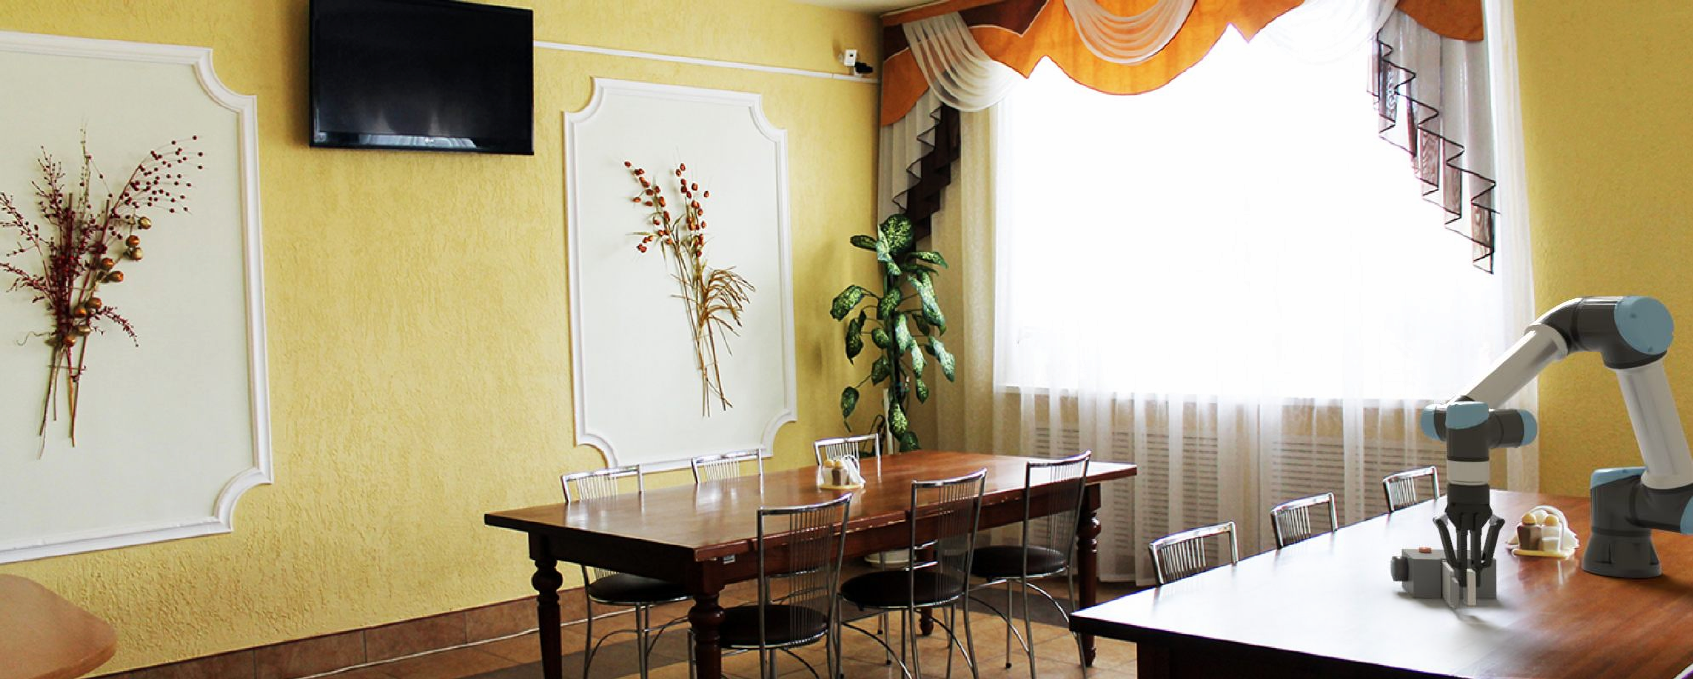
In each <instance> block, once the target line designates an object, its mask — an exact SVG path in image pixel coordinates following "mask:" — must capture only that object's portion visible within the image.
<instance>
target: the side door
mask: <svg viewBox="0 0 1693 679" xmlns="http://www.w3.org/2000/svg"><path fill="white" fill-rule="evenodd" d="M1442 598H1443V599H1444V600H1445V602H1446V604H1447V605H1448V606H1449V607H1450V608H1454V610H1455V609H1456V610H1459V609H1460V598H1459V582H1458V581H1457V580H1456V578H1455V577H1454V570H1453V569H1452V568H1451V567H1450V565H1449V564H1448V563H1447V560H1442V597H1441V599H1442Z"/></svg>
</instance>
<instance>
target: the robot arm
mask: <svg viewBox="0 0 1693 679" xmlns="http://www.w3.org/2000/svg"><path fill="white" fill-rule="evenodd" d="M1673 319H1674V318H1673V316H1672V314H1671V312H1670V311H1669V309H1668V308H1667V306H1666V305H1665V304H1663V303H1662V301H1660V300H1659V299H1655V298H1654V297H1651V296H1641V295H1635V294H1630V295H1623V296H1621V295H1619V296H1618V295H1615V296H1614V295H1611V296H1610V295H1609V296H1590V295H1589V296H1580V297H1576V298H1572V299H1570V300H1567V301H1565V302H1563V303H1560V304H1558V305H1557V306H1554V307H1553V308H1552V309H1550V310H1548V311H1547V312H1544V313H1543V314H1542V315H1541V316H1540V317H1538V318H1537V319H1535V320H1534V321H1533V322H1531V324H1529V325H1528V326H1527V327H1526V328H1525V329H1524V333H1523V337H1522V338H1520V339H1519V341H1517V342H1515V344H1514V345H1512V346H1511V347H1510V348H1509V349H1507V351H1505V352H1504V353H1503V354H1502V355H1501V356H1500V357H1499V358H1497V359H1496V360H1495V361H1493V363H1491V364H1490V365H1489V366H1488V367H1487V368H1485V369H1484V370H1483V371H1482V372H1481V373H1480V374H1479V375H1477V376H1476V377H1475V378H1474V379H1473V380H1472V381H1471V382H1469V383H1468V384H1467V385H1466V386H1465V387H1464V388H1462V389H1461V390H1460V391H1459V392H1457V394H1455V395H1454V396H1453V397H1452V398H1451V399H1449V400H1448V401H1447V402H1446V403H1444V404H1443V403H1437V404H1429V405H1428V406H1426V407H1425V408H1424V409H1423V410H1422V412H1421V414H1420V417H1419V418H1420V419H1419V425H1420V430H1421V432H1422V433H1423V435H1424V436H1425V437H1426V438H1427V439H1430V440H1433V441H1439V442H1441V443H1442V442H1443V443H1446V479H1447V480H1448V482H1447V483H1446V502H1447V503H1446V506H1445V508H1444V512H1443V513H1441V515H1439V516H1438V517H1437V516H1434V517H1432V522H1433V524H1434V525H1435V527H1436V528H1437V529H1438V534H1439V538H1440V541H1441V544H1442V550H1444V552H1445V556H1446V560H1447V563H1448V564H1449V565H1450V566H1452V567H1454V568H1457V569H1458V582H1459V586H1461V587H1463V598H1462V600H1463V603H1464V604H1466V605H1467V606H1476V605H1477V601H1476V600H1477V598H1476V587H1480V585H1481V571H1482V570H1483V569H1484V568H1489V567H1490V566H1491V564H1492V560H1493V558H1494V555H1495V550H1496V547H1497V543H1498V539H1499V535H1500V531H1501V530H1502V528H1503V527H1504V525H1505V524H1506V519H1504V518H1502V517H1500V516H1497V515H1496V514H1494V512H1493V509H1492V508H1491V504H1490V503H1491V491H1490V490H1491V485H1490V484H1489V483H1487V482H1489V481H1490V480H1491V476H1490V474H1491V473H1490V472H1491V471H1490V450H1497V449H1499V450H1500V449H1512V448H1514V449H1519V448H1521V447H1526V446H1528V445H1531V444H1532V443H1533V442H1534V441H1535V439H1536V437H1537V435H1538V422H1537V419H1536V418H1535V416H1534V415H1533V414H1532V413H1531V412H1530V411H1529V410H1527V409H1524V408H1513V407H1510V408H1506V409H1503V408H1501V407H1502V406H1504V405H1505V404H1506V403H1507V402H1508V401H1509V400H1511V399H1512V398H1513V397H1514V396H1515V395H1516V394H1517V393H1518V392H1520V390H1522V389H1523V388H1525V386H1526V385H1528V384H1529V383H1530V382H1531V381H1533V379H1535V378H1536V377H1537V376H1538V375H1539V374H1540V373H1541V372H1543V371H1544V370H1545V369H1547V367H1549V365H1551V364H1552V363H1559V362H1562V361H1563V360H1564V359H1565V358H1566V357H1568V356H1570V355H1572V354H1575V353H1580V352H1582V353H1583V352H1589V353H1590V352H1593V353H1600V355H1601V359H1602V361H1603V365H1604V367H1605V368H1607V369H1608V370H1611V371H1613V372H1615V375H1616V378H1617V381H1618V385H1619V387H1620V390H1621V395H1622V397H1623V401H1624V404H1625V407H1626V410H1627V414H1628V417H1629V419H1630V422H1631V426H1632V429H1633V432H1634V435H1635V438H1636V441H1637V444H1638V449H1639V450H1640V451H1639V452H1640V454H1641V458H1642V460H1643V463H1644V466H1626V467H1609V468H1599V469H1596V470H1594V471H1593V472H1592V473H1591V476H1590V477H1591V478H1590V487H1589V491H1590V492H1589V493H1590V537H1589V539H1588V541H1587V544H1586V547H1585V550H1584V552H1583V555H1582V558H1581V569H1582V570H1583V571H1585V572H1587V573H1591V574H1596V575H1600V576H1608V577H1617V578H1627V579H1629V578H1631V579H1634V578H1635V579H1645V578H1655V577H1659V576H1661V575H1662V563H1661V561H1660V558H1659V555H1658V553H1657V552H1658V551H1657V548H1656V546H1655V544H1654V541H1653V538H1652V537H1653V536H1652V534H1653V532H1652V531H1653V530H1656V531H1663V532H1669V533H1675V534H1682V535H1684V536H1693V458H1692V455H1691V452H1690V451H1691V450H1690V449H1689V444H1688V442H1687V441H1688V440H1687V439H1686V435H1685V433H1684V429H1683V427H1682V426H1683V425H1682V423H1681V419H1680V416H1679V413H1678V409H1677V407H1676V404H1675V403H1676V402H1675V400H1674V397H1673V396H1674V395H1673V393H1672V391H1671V387H1670V383H1669V380H1668V377H1667V374H1666V371H1665V366H1664V365H1663V360H1664V359H1665V358H1666V356H1667V355H1668V353H1669V352H1668V349H1669V348H1670V347H1671V345H1672V342H1674V337H1675V336H1674V335H1673V333H1674V331H1675V323H1674V320H1673ZM1448 520H1449V521H1448ZM1449 522H1451V524H1452V525H1453V526H1454V527H1455V534H1456V550H1457V559H1456V556H1455V552H1454V550H1455V549H1454V545H1453V542H1452V539H1451V534H1450V531H1449V528H1448V526H1449ZM1487 523H1488V525H1489V526H1488V529H1487V534H1486V537H1485V540H1484V546H1483V548H1482V535H1483V528H1484V527H1485V525H1486V524H1487ZM1469 534H1470V535H1469ZM1468 535H1469V536H1470V537H1469V541H1470V542H1469V544H1470V546H1469V548H1470V549H1469V550H1470V557H1471V569H1468V559H1467V550H1468ZM1481 550H1483V553H1482V557H1481Z"/></svg>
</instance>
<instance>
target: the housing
mask: <svg viewBox="0 0 1693 679" xmlns="http://www.w3.org/2000/svg"><path fill="white" fill-rule="evenodd" d="M1454 552H1455V556H1456V559H1457V549H1454ZM1482 553H1483V549H1481V557H1482ZM1467 559H1468V569H1471V557H1470V549H1467ZM1442 560H1446V556H1445V552H1444V549H1435V548H1432V547H1428V546H1420V547H1418V548H1401V556H1398V555H1396V556H1395V555H1392V557H1391V560H1390V563H1389V564H1390V566H1389V567H1390V575H1391V577H1392V580H1393V582H1399V583H1400V582H1401V587H1402V588H1403V589H1404V590H1405V591H1406V592H1407V593H1408V594H1409V595H1410V596H1411V597H1412V598H1413V599H1442ZM1450 567H1451V568H1452V569H1453V570H1454V577H1455V578H1456V580H1457V581H1458V569H1457V568H1454V567H1452V566H1450ZM1459 599H1463V587H1461V586H1459ZM1476 599H1486V600H1488V599H1490V600H1491V599H1493V600H1494V599H1495V600H1497V558H1496V557H1493V560H1492V564H1491V566H1490V567H1489V568H1484V569H1483V570H1482V571H1481V585H1480V587H1476Z"/></svg>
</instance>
